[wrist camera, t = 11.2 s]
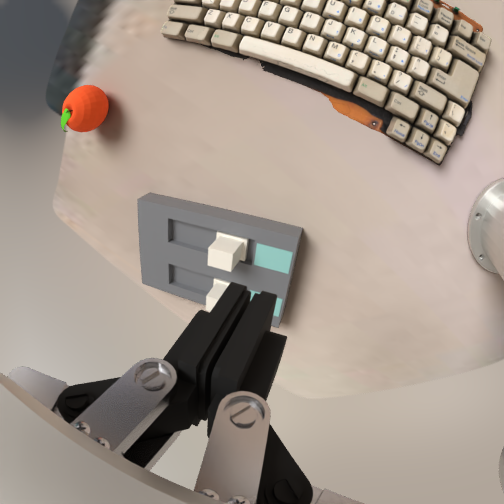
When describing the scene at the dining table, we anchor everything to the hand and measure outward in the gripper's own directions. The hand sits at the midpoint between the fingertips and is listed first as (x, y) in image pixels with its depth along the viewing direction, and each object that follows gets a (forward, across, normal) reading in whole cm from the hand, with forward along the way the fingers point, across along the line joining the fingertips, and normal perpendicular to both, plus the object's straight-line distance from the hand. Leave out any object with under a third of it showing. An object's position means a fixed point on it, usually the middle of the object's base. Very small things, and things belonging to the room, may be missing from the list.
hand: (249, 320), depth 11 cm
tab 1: (+25, +9, +11) cm, 29 cm away
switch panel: (+27, +12, +15) cm, 33 cm away
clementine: (+27, +33, -4) cm, 43 cm away
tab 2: (+25, +9, +18) cm, 32 cm away
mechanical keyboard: (+28, +3, -17) cm, 33 cm away
